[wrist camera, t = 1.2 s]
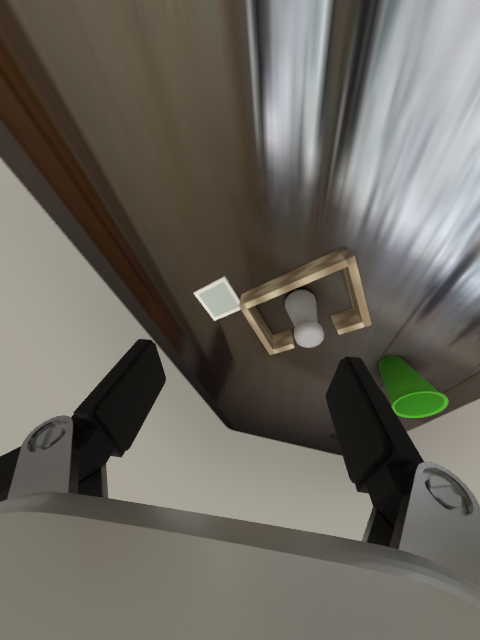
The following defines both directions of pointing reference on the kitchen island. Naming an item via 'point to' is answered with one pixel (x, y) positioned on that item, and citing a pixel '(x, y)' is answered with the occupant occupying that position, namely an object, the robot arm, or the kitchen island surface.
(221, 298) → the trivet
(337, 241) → the kitchen island surface
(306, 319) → the salt shaker
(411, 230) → the kitchen island surface
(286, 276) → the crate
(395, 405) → the cup
